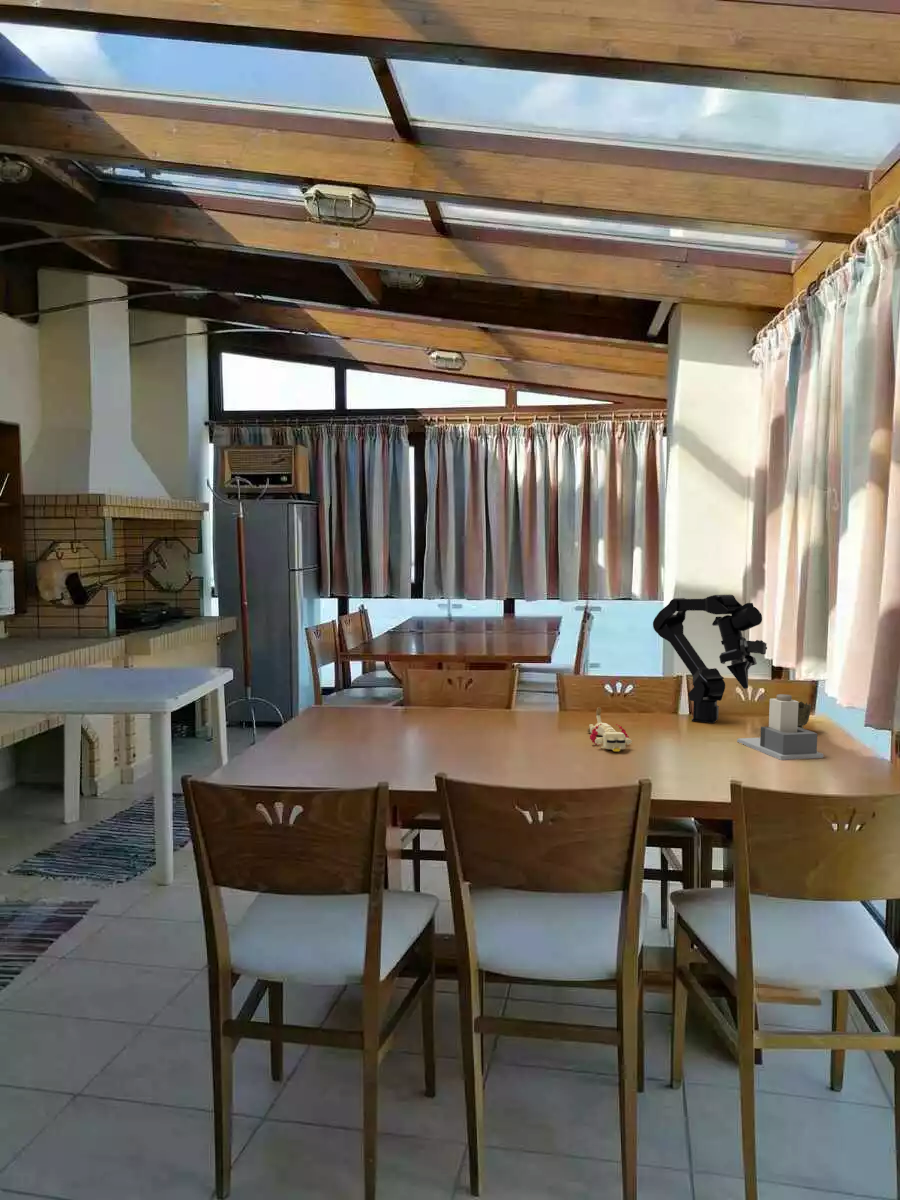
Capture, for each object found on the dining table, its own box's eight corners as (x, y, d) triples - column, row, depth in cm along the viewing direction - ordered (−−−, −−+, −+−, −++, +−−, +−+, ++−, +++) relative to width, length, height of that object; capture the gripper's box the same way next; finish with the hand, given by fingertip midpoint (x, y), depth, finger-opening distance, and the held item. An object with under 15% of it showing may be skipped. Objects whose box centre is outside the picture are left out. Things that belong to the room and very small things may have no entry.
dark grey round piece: (806, 728, 263) (807, 701, 262) (813, 733, 255) (814, 705, 255) (779, 727, 263) (780, 700, 263) (786, 732, 256) (787, 704, 255)
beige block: (768, 744, 235) (769, 694, 234) (785, 743, 236) (787, 693, 235) (779, 748, 230) (781, 697, 229) (796, 747, 231) (798, 696, 230)
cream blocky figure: (579, 738, 252) (597, 751, 227) (579, 706, 252) (598, 717, 227) (615, 738, 253) (637, 751, 228) (615, 707, 253) (637, 717, 228)
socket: (737, 742, 243) (737, 720, 243) (776, 740, 246) (777, 718, 245) (780, 759, 224) (781, 735, 223) (823, 757, 226) (824, 734, 226)
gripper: (752, 623, 250) (767, 678, 245) (766, 632, 265) (781, 684, 261) (712, 634, 255) (727, 688, 250) (729, 642, 270) (743, 693, 266)
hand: (746, 688), depth 257 cm, fingers closed
